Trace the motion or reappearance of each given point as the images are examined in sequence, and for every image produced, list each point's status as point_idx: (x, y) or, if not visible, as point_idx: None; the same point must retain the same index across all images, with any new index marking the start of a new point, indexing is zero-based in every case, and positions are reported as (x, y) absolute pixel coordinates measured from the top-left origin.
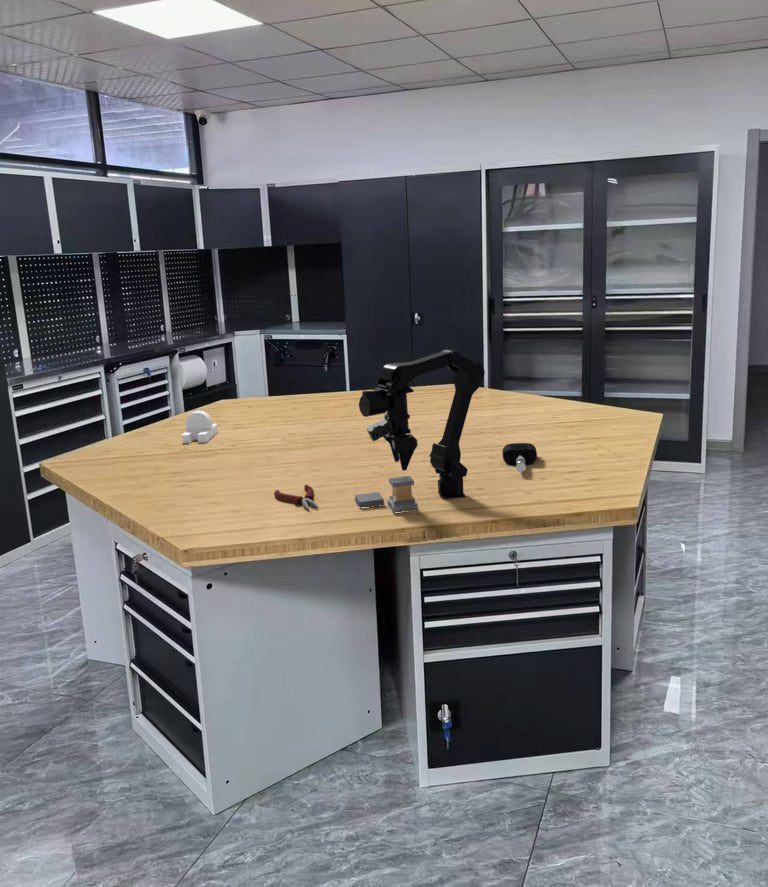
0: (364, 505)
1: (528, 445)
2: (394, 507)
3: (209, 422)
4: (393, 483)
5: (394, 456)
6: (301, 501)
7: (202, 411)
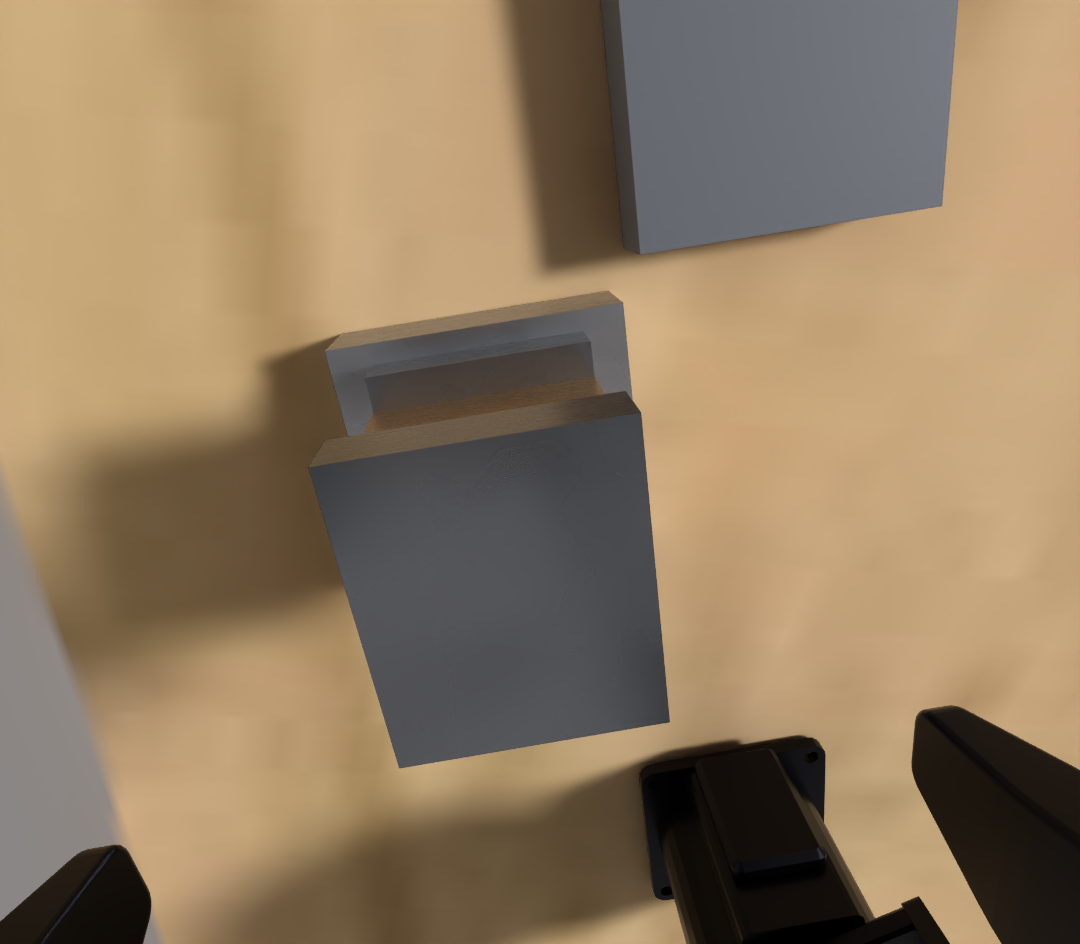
0: None
1: None
2: (330, 366)
3: None
4: (313, 480)
5: (1023, 820)
6: None
7: None
